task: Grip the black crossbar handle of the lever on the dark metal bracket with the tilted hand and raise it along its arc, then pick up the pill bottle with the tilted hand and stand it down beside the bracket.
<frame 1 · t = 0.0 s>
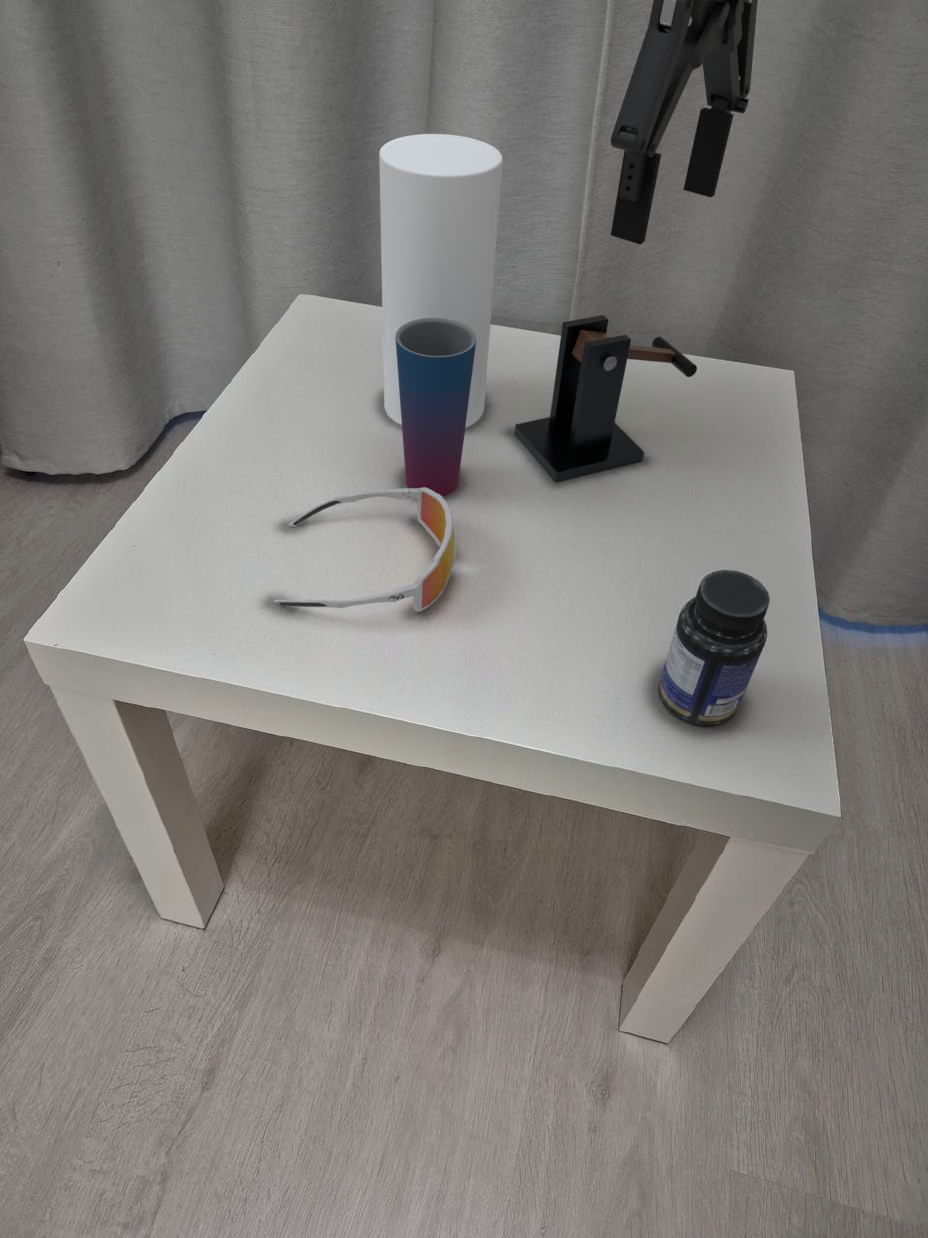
hand: (664, 214, 75), 23 cm above the table, tool pointing down, fingers open, 13 cm apart
bracket: (577, 447, 89), on the table
lever: (632, 352, 84), point 10 cm above the table, hinge at -15.0°
pill bottle: (696, 699, 67), on the table
sunglasses: (369, 567, 76), on the table
tall pillar cylinder: (434, 406, 94), on the table
cup: (432, 483, 84), on the table
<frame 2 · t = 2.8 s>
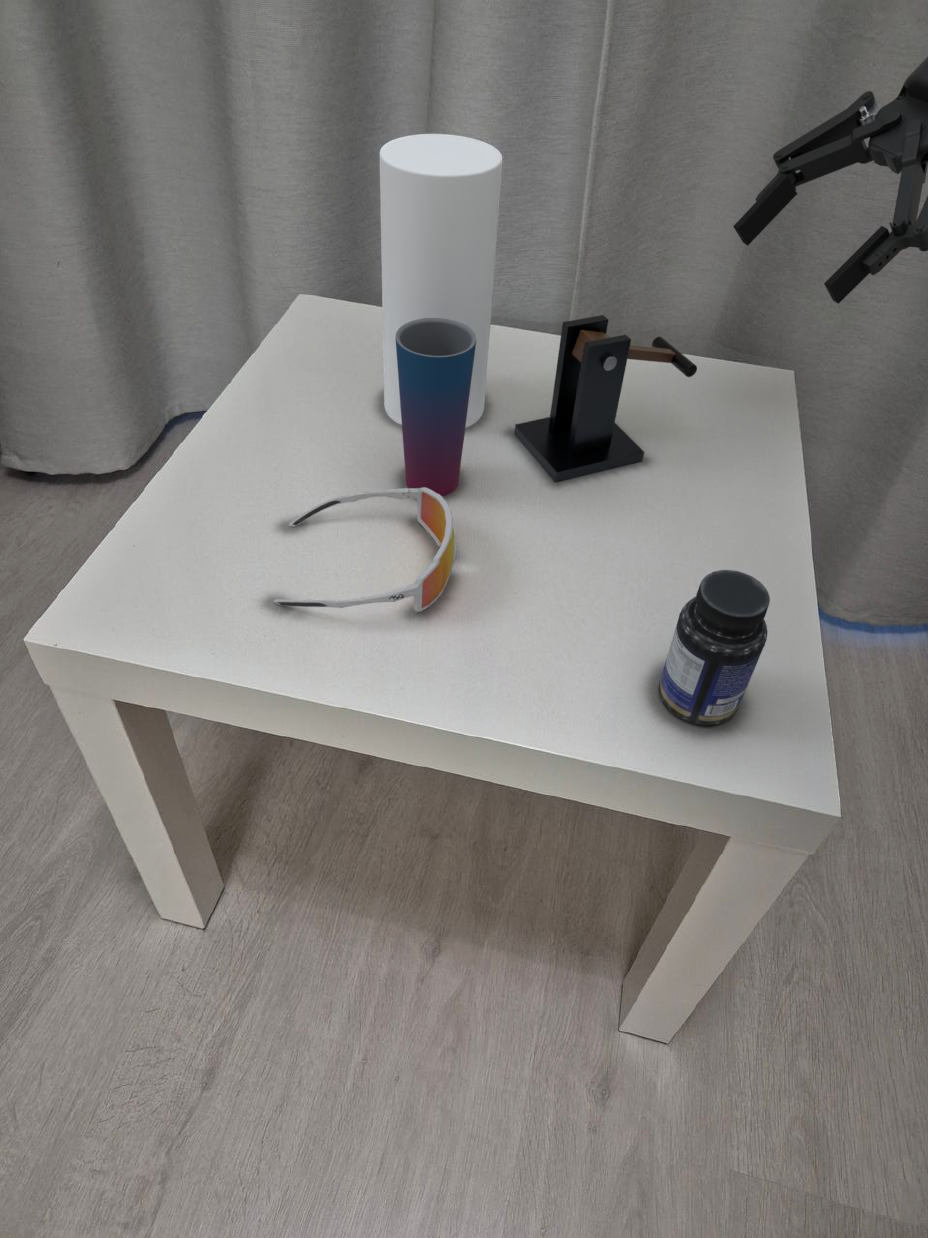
hand: (783, 263, 85), 16 cm above the table, tool tilted 45°, fingers open, 13 cm apart
nothing on the table moved.
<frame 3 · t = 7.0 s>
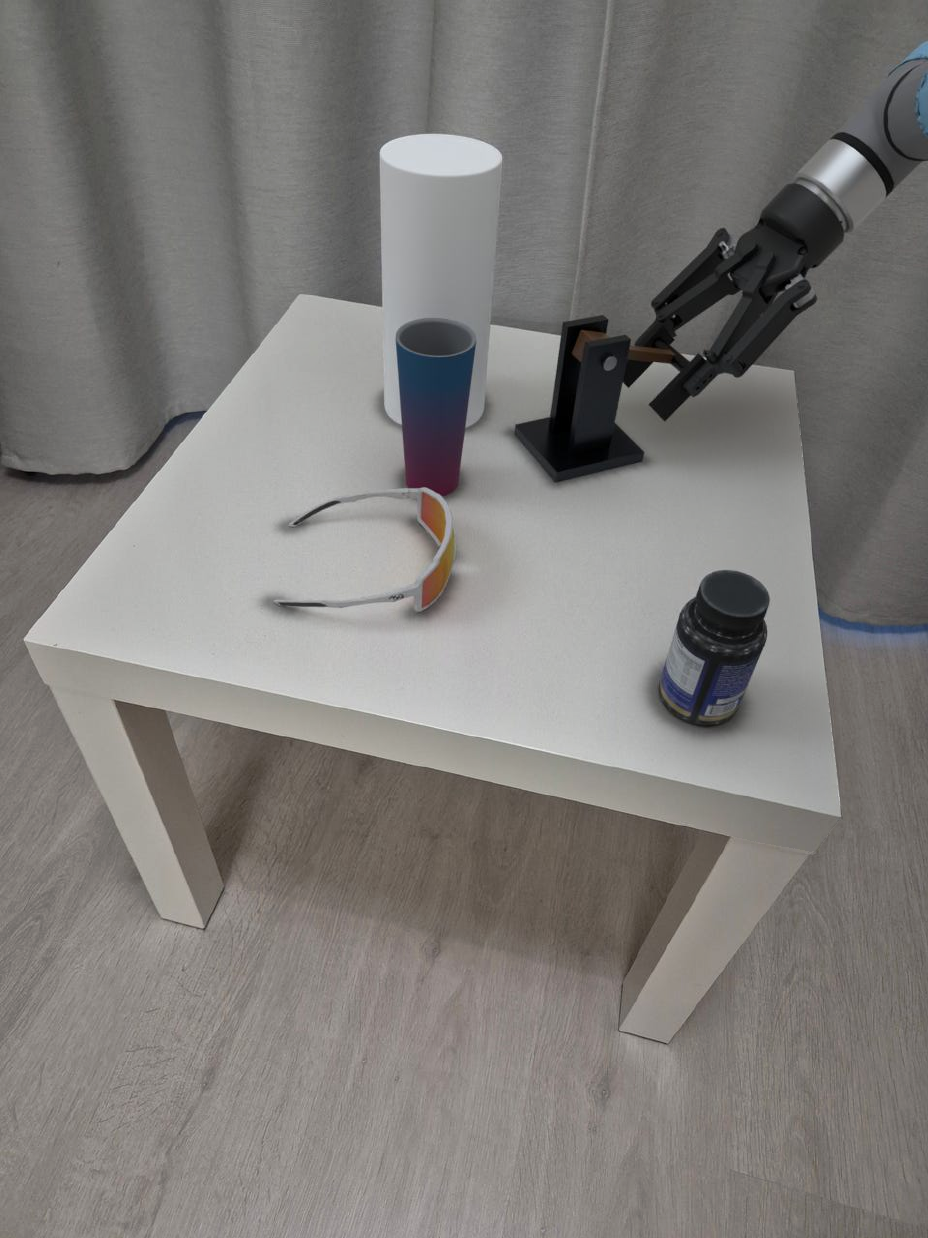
hand: (638, 395, 88), 5 cm above the table, tool tilted 45°, fingers closed on lever, 6 cm apart
lever: (631, 352, 84), point 10 cm above the table, hinge at -15.5°, touching gripper
everything else where it was.
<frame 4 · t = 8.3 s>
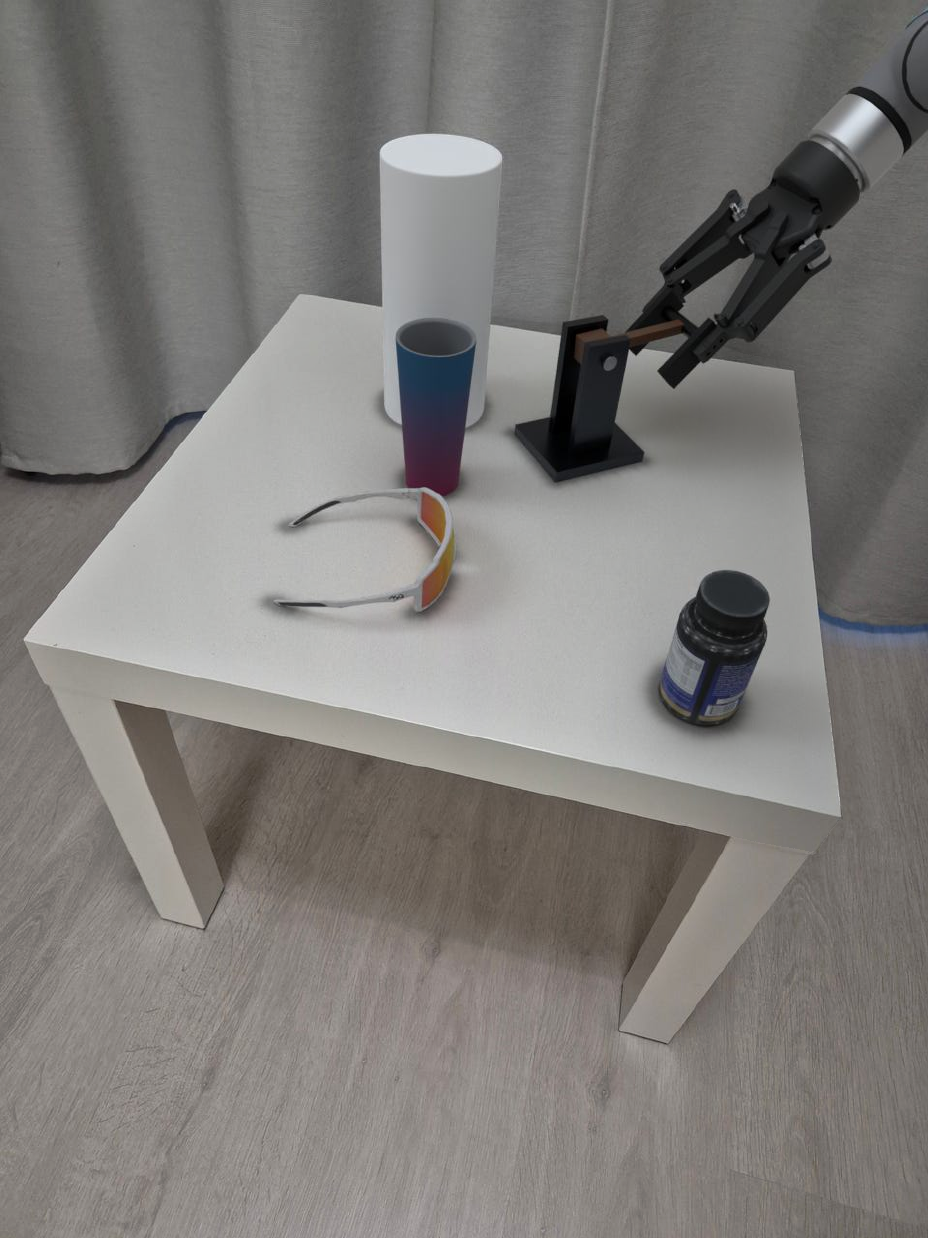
hand: (646, 362, 86), 8 cm above the table, tool tilted 45°, fingers closed on lever, 6 cm apart
lever: (636, 337, 83), point 11 cm above the table, hinge at 3.6°, touching gripper
everything else where it was.
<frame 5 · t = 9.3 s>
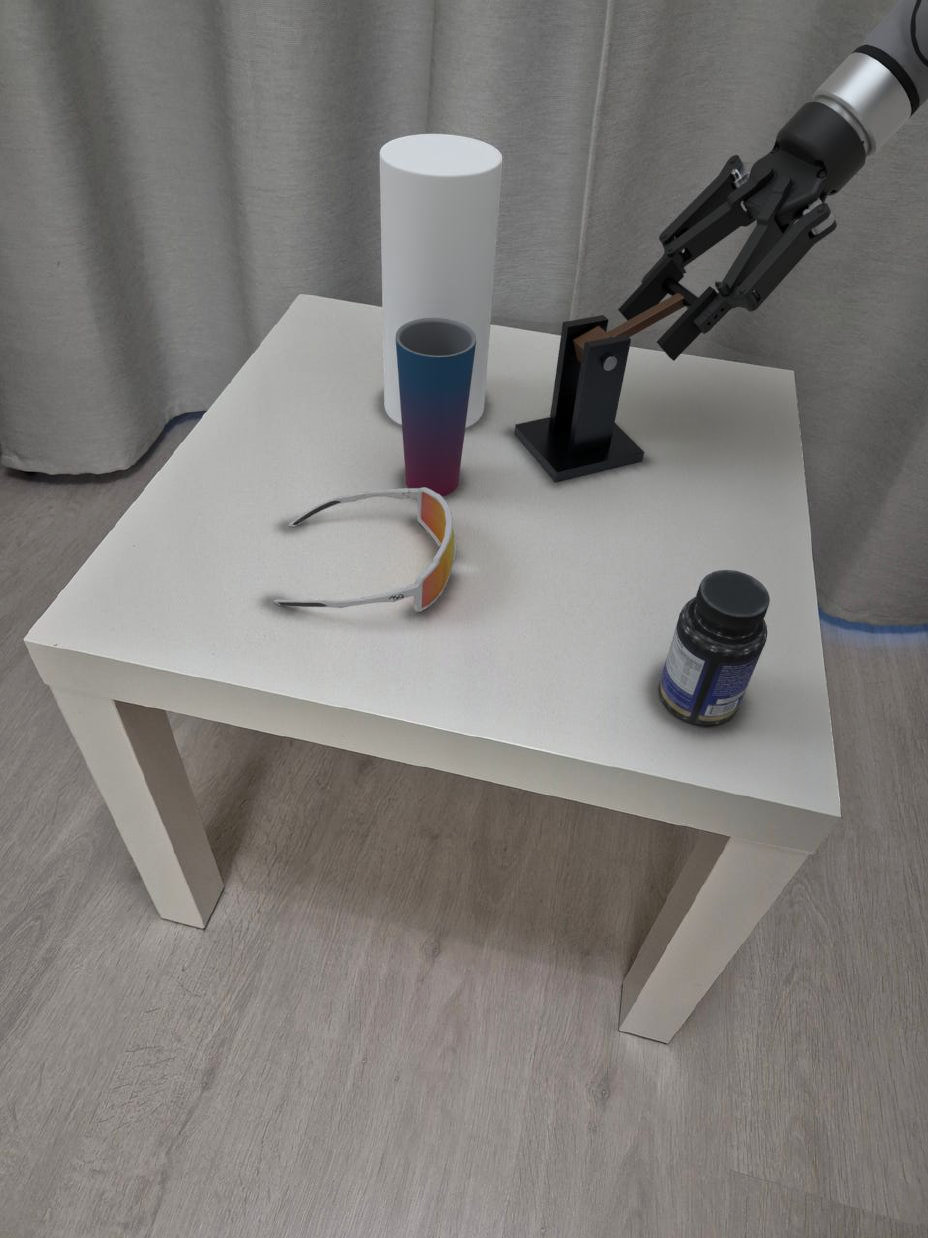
hand: (645, 334, 83), 11 cm above the table, tool tilted 45°, fingers closed on lever, 6 cm apart
lever: (636, 324, 82), point 13 cm above the table, hinge at 20.7°, touching gripper
everything else where it was.
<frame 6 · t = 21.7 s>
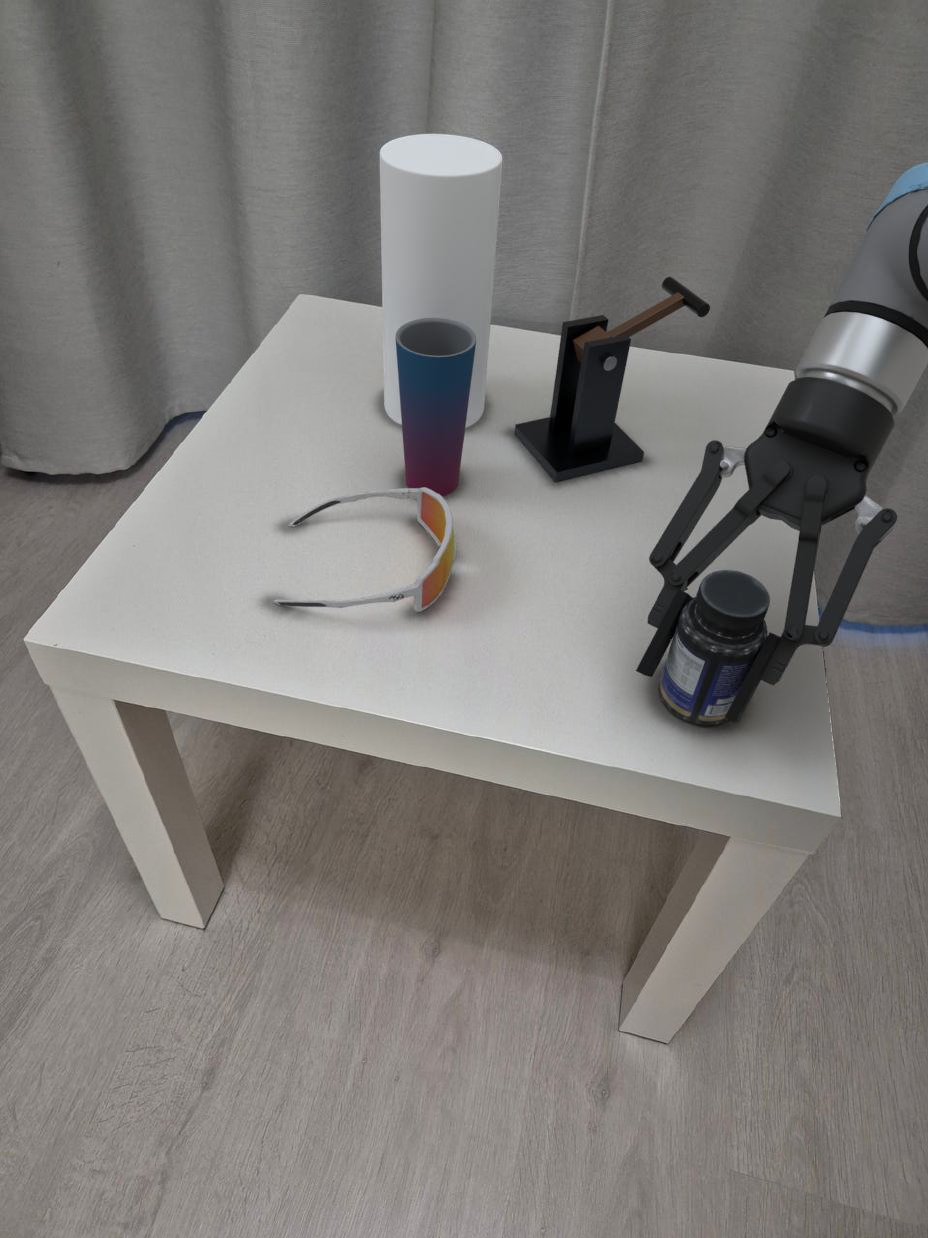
hand: (687, 695, 62), 4 cm above the table, tool tilted 45°, fingers closed on pill bottle, 6 cm apart
lever: (636, 324, 82), point 13 cm above the table, hinge at 21.1°
pill bottle: (696, 698, 67), on the table, touching gripper
everything else where it was.
when the fingers open (4 cm above the table, at t = 29.0 s): pill bottle stays where it is, on the table.
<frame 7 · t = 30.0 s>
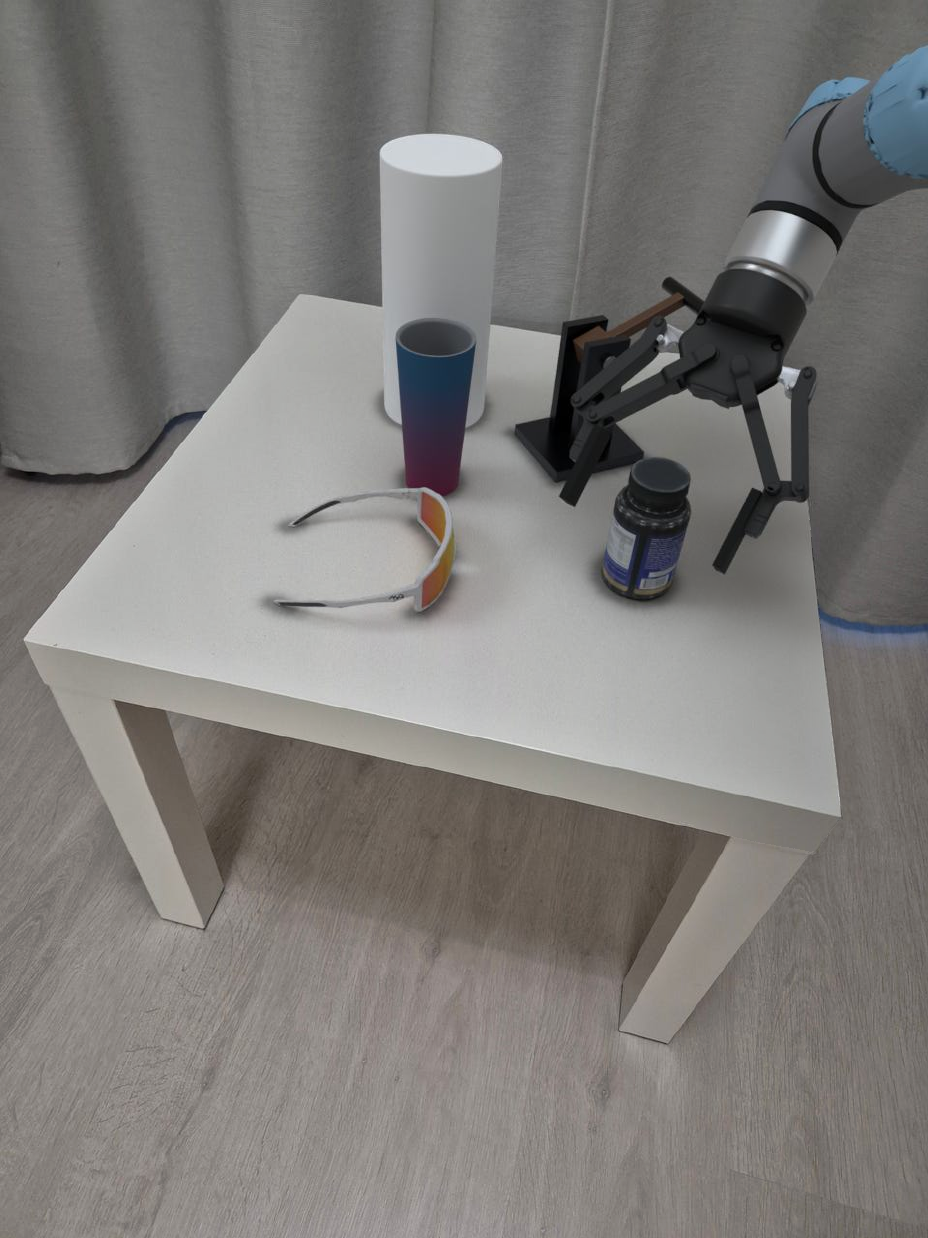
hand: (639, 535, 70), 6 cm above the table, tool tilted 45°, fingers open, 13 cm apart
pill bottle: (634, 580, 76), on the table
everything else where it was.
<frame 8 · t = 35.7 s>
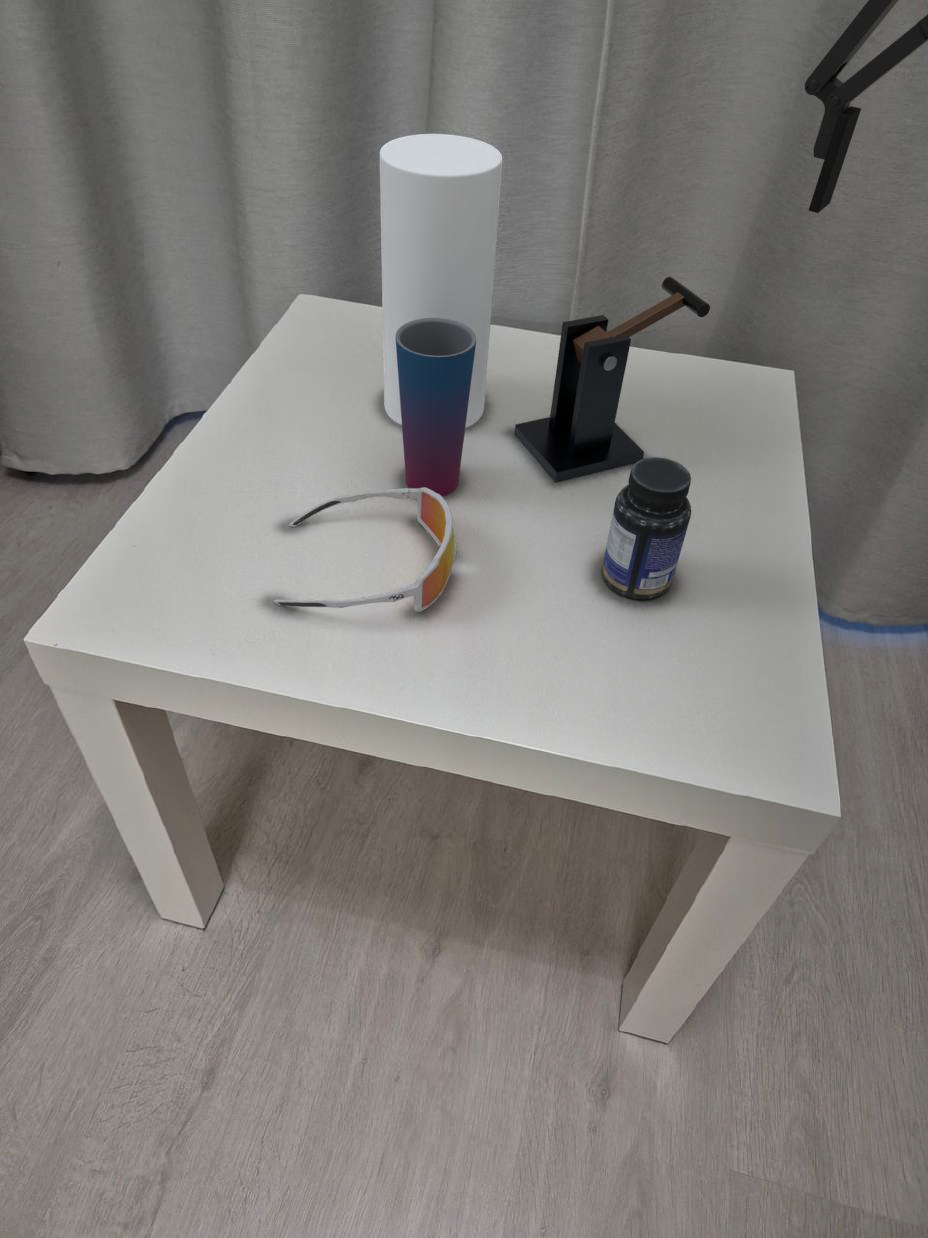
hand: (909, 231, 64), 27 cm above the table, tool pointing down, fingers open, 13 cm apart
nothing on the table moved.
at the end: lever at +21° (first picture: -15°); pill bottle inside the target area on the table beside the bracket (0.0 cm from its centre), on the table; pill bottle tilted 0° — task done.
